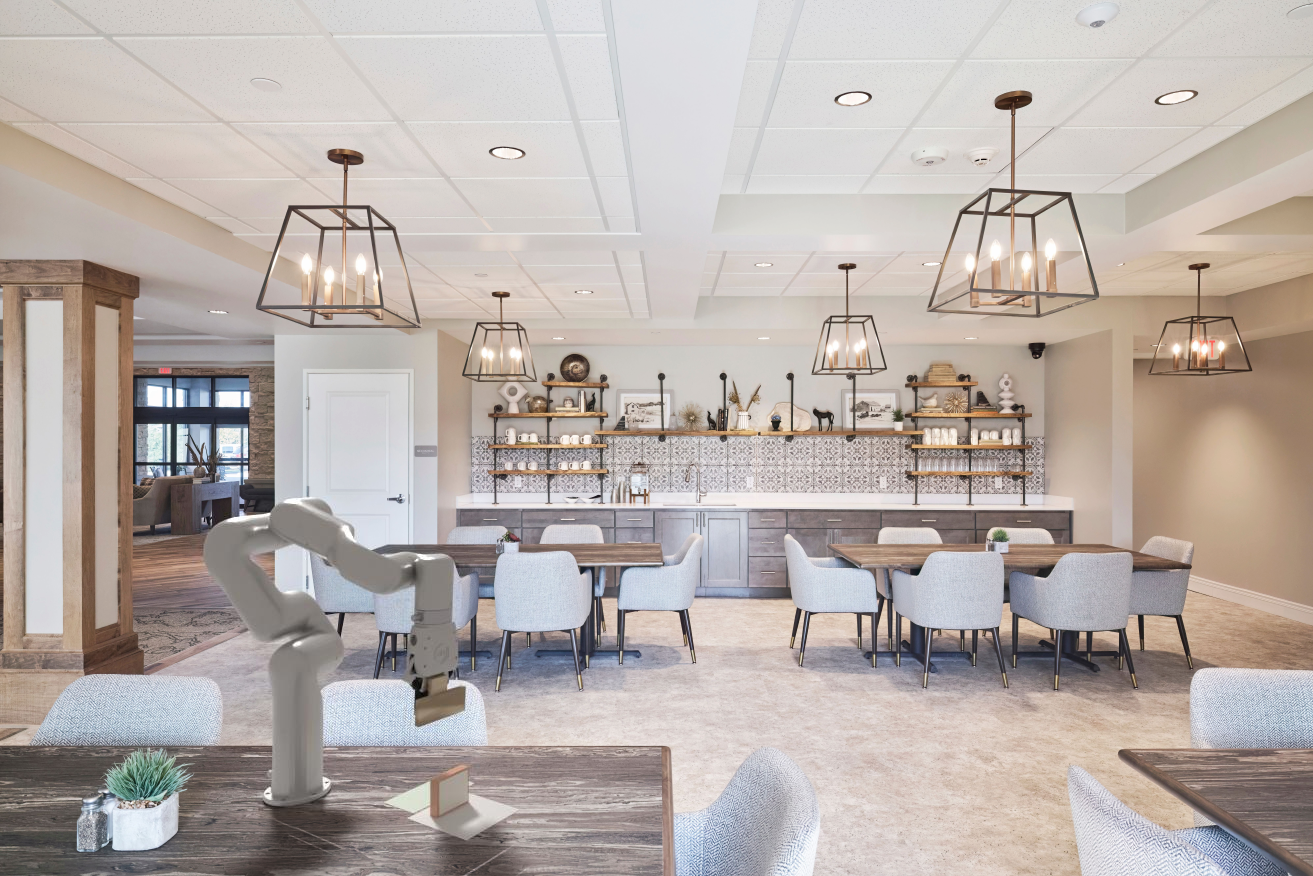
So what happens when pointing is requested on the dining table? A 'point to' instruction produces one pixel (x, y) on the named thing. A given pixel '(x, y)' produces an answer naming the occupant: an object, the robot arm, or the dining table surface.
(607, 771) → the dining table surface
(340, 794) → the dining table surface
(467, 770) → the tile
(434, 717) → the stepped beige block
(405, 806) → the pad
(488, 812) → the mat
